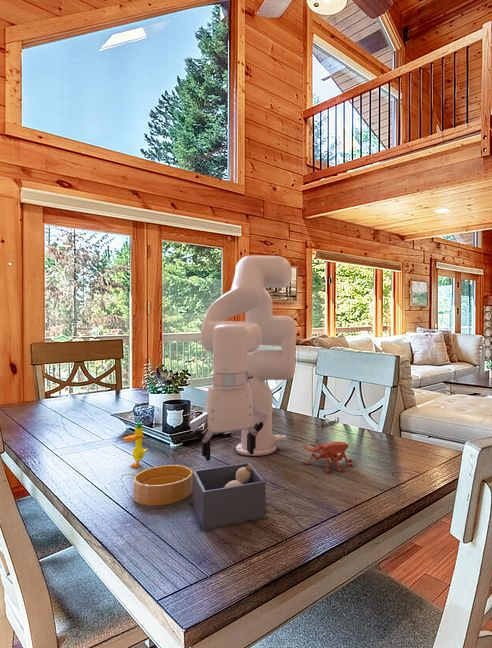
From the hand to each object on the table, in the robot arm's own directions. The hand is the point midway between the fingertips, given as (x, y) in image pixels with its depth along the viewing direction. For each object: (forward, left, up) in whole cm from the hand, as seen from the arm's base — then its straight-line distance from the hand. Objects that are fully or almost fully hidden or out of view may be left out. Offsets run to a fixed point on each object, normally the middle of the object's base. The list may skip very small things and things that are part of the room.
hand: (229, 455), depth 100 cm
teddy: (0, 0, -11) cm, 11 cm away
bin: (0, +1, -12) cm, 12 cm away
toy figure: (+17, -37, -12) cm, 43 cm away
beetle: (-33, -17, -12) cm, 39 cm away
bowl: (+12, -13, -12) cm, 22 cm away
